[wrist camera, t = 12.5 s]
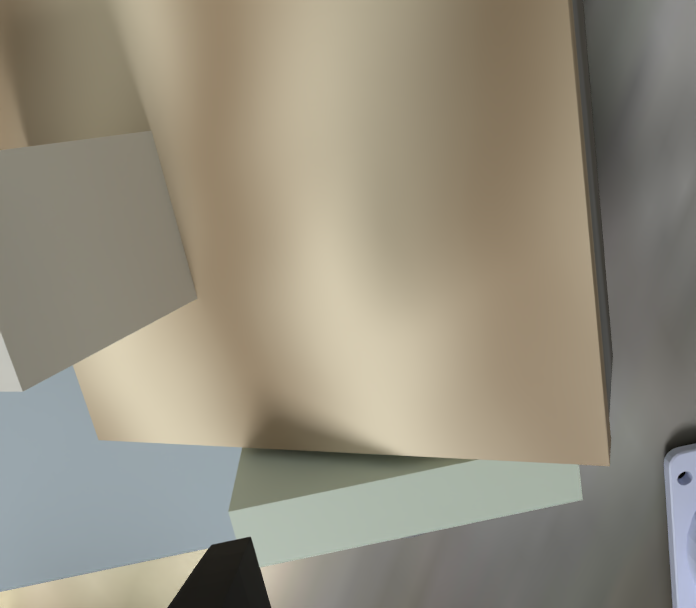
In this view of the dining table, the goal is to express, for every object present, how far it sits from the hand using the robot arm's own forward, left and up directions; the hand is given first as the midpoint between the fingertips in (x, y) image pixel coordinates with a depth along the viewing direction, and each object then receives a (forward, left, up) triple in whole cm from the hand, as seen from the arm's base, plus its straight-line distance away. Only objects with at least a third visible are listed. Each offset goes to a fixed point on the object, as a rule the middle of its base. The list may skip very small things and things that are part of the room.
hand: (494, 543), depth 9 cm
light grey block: (+5, +7, -8) cm, 11 cm away
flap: (+5, +1, -10) cm, 11 cm away
